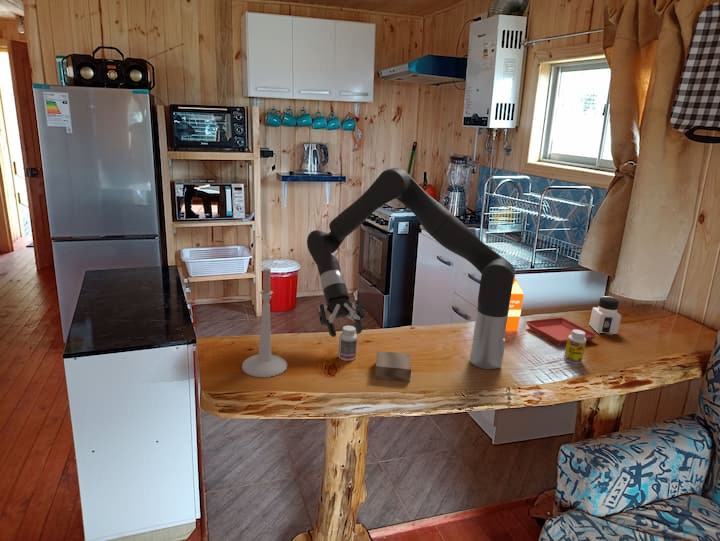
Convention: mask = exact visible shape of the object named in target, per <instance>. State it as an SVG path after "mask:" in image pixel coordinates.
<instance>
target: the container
mask: <svg viewBox="0 0 720 541" xmlns="http://www.w3.org/2000/svg"><path fill="white" fill-rule="evenodd" d="M619 303H620V301H619V299H617V298H616V297H613V296H609V295H608V296H607V295H605V296H600V298H599V301H598V306H597V307H596V306H595V307H592V310H591V315H590V319H589V323H588V326H589V325H590V326H591V327H592V328H593V329H594V330H595V331H596V332H597V334H600V333H613V334H617V335H618V332H619V328H620V324H621V319H622V315H621V314H620V313H619V312H618V310H619V309H618V308H619V306H620V305H619ZM590 326H589V327H590ZM591 327H590V328H591ZM592 328H591V329H592ZM593 329H592V330H593ZM594 330H593V331H594ZM595 331H594V332H595ZM613 334H612V335H613Z"/></svg>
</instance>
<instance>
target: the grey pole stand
mask: <svg viewBox="0 0 720 541" xmlns="http://www.w3.org/2000/svg"><path fill="white" fill-rule="evenodd" d="M262 272H263V274H262V275H263V277H262V290H260V291H259V293H260V294H261V299H262V302H263V303H262V304H261V305H262V307H261V308H262V310H261V319H260V320H261V322H260V334H259V336H260V337H259V348H258V354H254V355H251V356H249V357H247V358H246V359H245V360H244V361H243V362H242V364H241V365H242V366H241V369H242V371H243V372H244V373H246V374H247V375H249V376H252V377H255V378H272V377H271V376H274V377H276V375H277V376H280V375H281V373H282V374H284V373H285V372H286V371H285V370H287V369H288V362H287V361H286V360H285V359H284V358H283V357H281V356H279V355H276V354H273V353H272V340H271V339H272V338H271V337H272V336H271V304H270V301H271V299H272V294H273V293H274V292H273V291H272V290H271V278H272V276H271V275H272V274H271V272H272V271H271V268H268V267H266V268H263V270H262ZM284 371H285V372H284ZM279 374H280V375H279Z"/></svg>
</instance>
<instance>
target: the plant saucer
mask: <svg viewBox="0 0 720 541" xmlns="http://www.w3.org/2000/svg"><path fill="white" fill-rule="evenodd" d="M525 324H526V326H527V327H528V328H529V330H531V331H532V330H533V331H532V332H534V333H536V334H537V333H538V334H537V335H539V334H540V335H539V336H541V337H543V338H545V339H546V340H548V341H550V342H552V343H553V344H555V345H556V346H564V345H567V340H568V336H569V335H571V334H572V330H575V329H576V330H581V331H584V332H585V338H586V341H588V342H590V341H593V339H595V338H596V337H598V333H597V334H596V333H595V332H592V331H591V330H588V329H586V328H584V327H582V326H580V325H579V324H577V323H574V322H573V321H570V320H568V319H567V318H565V317H561V316H560V317H552V318H550V317H549V318H544V319H543V318H542V319H534V320H526V321H525Z"/></svg>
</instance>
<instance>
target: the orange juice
mask: <svg viewBox="0 0 720 541" xmlns="http://www.w3.org/2000/svg"><path fill="white" fill-rule="evenodd" d="M524 296H525V293H524V291H523V290H522V288H521V286H520V283H519V281H518V279H517V278H515V277H514V281H513V286H512V292H511V298H510V305H509V312H508V318H507V324H506V330H505V331H517V332H518V330H519V324H520V317H521V313H522V306H523V302H524V301H523V300H524Z"/></svg>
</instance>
